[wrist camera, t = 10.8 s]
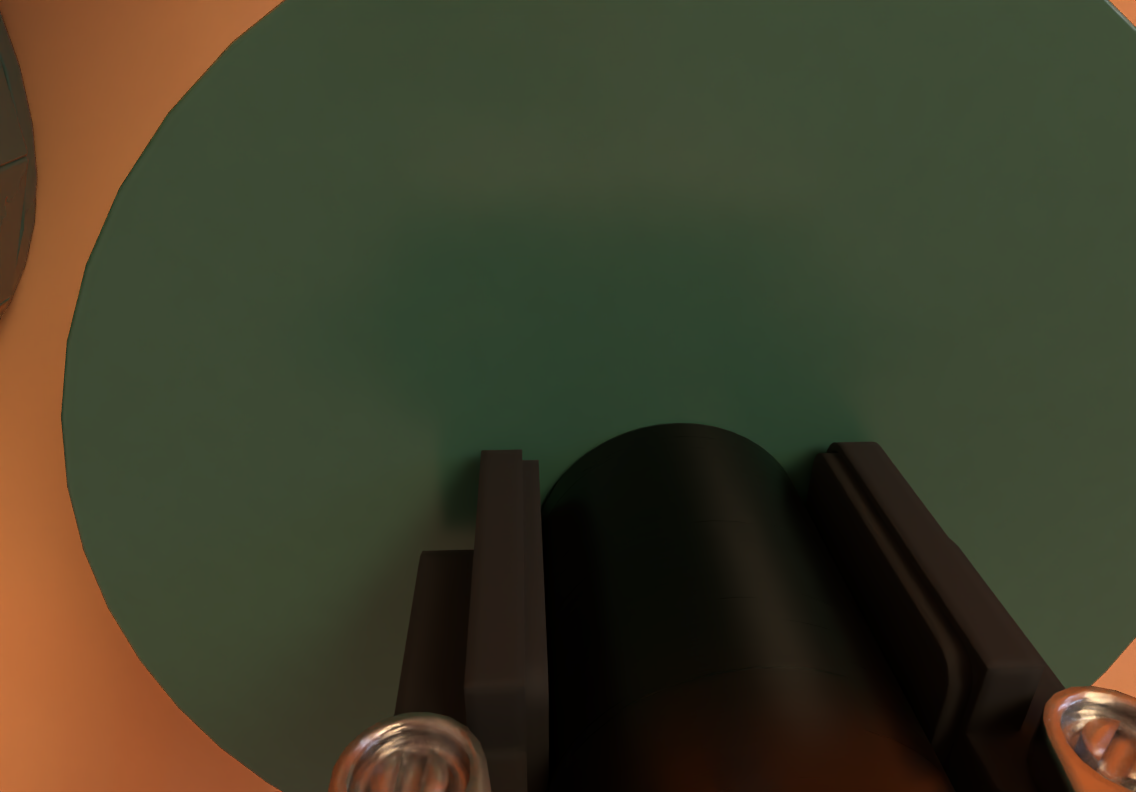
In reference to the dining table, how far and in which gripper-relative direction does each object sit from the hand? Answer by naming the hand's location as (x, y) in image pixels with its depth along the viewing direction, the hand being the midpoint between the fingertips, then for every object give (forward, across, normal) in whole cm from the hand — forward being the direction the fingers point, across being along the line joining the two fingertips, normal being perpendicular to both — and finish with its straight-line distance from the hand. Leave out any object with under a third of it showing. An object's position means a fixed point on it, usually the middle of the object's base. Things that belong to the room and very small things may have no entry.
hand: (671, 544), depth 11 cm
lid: (+1, 0, 0) cm, 1 cm away
